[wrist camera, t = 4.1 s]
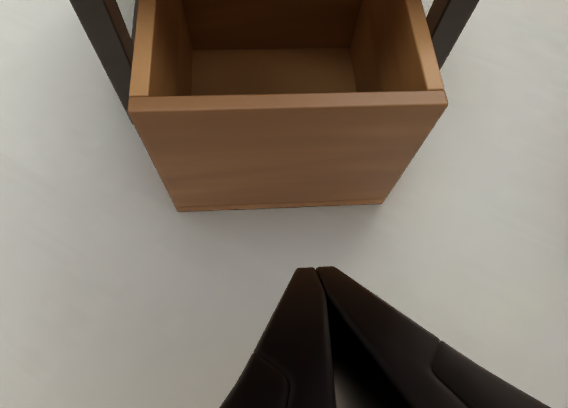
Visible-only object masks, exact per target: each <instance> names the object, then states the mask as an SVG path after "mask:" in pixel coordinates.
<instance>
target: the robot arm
mask: <svg viewBox="0 0 568 408" xmlns="http://www.w3.org/2000/svg"><path fill="white" fill-rule="evenodd" d="M219 408H550V407H549V406H547V405H545V404H543V403H542V402H540V401H538V400H536V399H535V398H533V397H531V396H529V395H528V394H526V393H524V392H523V391H521V390H519V389H517V388H516V387H514V386H512V385H510V384H509V383H507V382H505V381H504V380H502V379H500V378H499V377H497V376H495V375H494V374H492V373H490V372H489V371H487V370H485V369H484V368H482V367H481V366H479V365H477V364H476V363H474V362H473V361H471V360H470V359H468V358H467V357H465V356H464V355H462V354H461V353H459V352H458V351H456V350H455V349H453V348H452V347H450V346H449V345H447V344H446V343H445V342H443V341H440V340H439V338H437V337H436V336H434V335H433V334H431V333H430V332H428V331H427V330H425V329H424V328H423V327H421V326H420V325H418V324H417V323H415V322H414V321H412V320H411V319H410V318H408V317H407V316H405V315H404V314H402V313H401V312H399V311H398V310H396V309H395V308H394V307H392V306H391V305H389V304H388V303H386V302H385V301H383V300H382V299H380V298H379V297H378V296H376V295H375V294H373V293H372V292H370V291H369V290H367V289H366V288H365V287H363V286H362V285H360V284H359V283H357V282H356V281H354V280H353V279H351V278H350V277H349V276H347V275H346V274H344V273H343V272H341V271H340V270H338V269H337V268H335V267H333V266H329V267H318V268H316V270H315V268H313V267H309V268H297V269H296V270H295V272H294V274H293V276H292V278H291V280H290V282H289V284H288V286H287V288H286V290H285V292H284V294H283V296H282V297H281V299H280V301H279V303H278V305H277V307H276V309H275V311H274V313H273V315H272V317H271V319H270V321H269V323H268V325H267V327H266V328H265V330H264V332H263V334H262V336H261V338H260V340H259V342H258V344H257V346H256V348H255V350H254V353H253V354H252V355H251V357H250V359H249V361H248V363H247V365H246V367H245V368H244V370H243V372H242V374H241V375H240V377H239V379H238V381H237V382H236V384H235V386H234V387H233V389H232V390H231V391H230V393H229V394H228V396H227V397H226V399H225V400H224V402H223V403H222V405H221V406H220V407H219Z"/></svg>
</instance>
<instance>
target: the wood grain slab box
mask: <svg viewBox="0 0 568 408" xmlns="http://www.w3.org/2000/svg"><path fill="white" fill-rule="evenodd" d="M129 97H130V98H129V102H128V114H129V116H130V118H131V120H132V122H133V124H134V126H135V128H136V130H137V132H138V134H139V136H140V138H141V140H142V142H143V144H144V146H145V148H146V150H147V152H148V154H149V156H150V158H151V160H152V162H153V164H154V166H155V168H156V170H157V172H158V173H159V175H160V177H161V179H162V181H163V183H164V185H165V187H166V189H167V191H168V193H169V195H170V197H171V199H172V201H173V203H174V205H175V207H176V209H177V211H178V212H180V211H205V210H231V209H256V208H282V207H307V206H332V205H358V204H382V203H383V202H384V200H385V198H386V197H387V196H388V194H389V193H390V191H391V190H392V188H393V187H394V185H395V184H396V182H397V181H398V179H399V178H400V176H401V175H402V173H403V172H404V170H405V169H406V167H407V166H408V164H409V163H410V161H411V160H412V158H413V157H414V155H415V154H416V152H417V151H418V149H419V148H420V146H421V145H422V143H423V142H424V140H425V139H426V137H427V136H428V134H429V133H430V131H431V130H432V128H433V127H434V125H435V124H436V122H437V121H438V119H439V118H440V116H441V115H442V113H443V112H444V110H445V109H446V107H447V106H448V101H447V97H446V93H445V91H444V86H443V82H442V78H441V74H440V70H439V66H438V63H437V59H436V55H435V51H434V47H433V44H432V40H431V36H430V32H429V28H428V25H427V21H426V17H425V13H424V9H423V5H422V2H421V0H139V3H138V13H137V22H136V32H135V42H134V51H133V61H132V71H131V80H130V90H129Z"/></svg>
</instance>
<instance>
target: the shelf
mask: <svg viewBox="0 0 568 408" xmlns="http://www.w3.org/2000/svg"><path fill="white" fill-rule="evenodd" d="M70 2H71V4H72V6H73V8H74V10H75V12H76V14H77V16H78V18H79V20H80V22H81V24H82V26H83V28H84V30H85V32H86V34H87V36H88V38H89V39H90V41H91V43H92V45H93V47H94V49H95V51H96V53H97V55H98V57H99V59H100V61H101V63H102V65H103V67H104V69H105V71H106V73H107V75H108V77H109V79H110V81H111V83H112V85H113V87H114V89H115V91H116V93H117V95H118V97H119V99H120V101H121V102H122V104H123V106H124V108H125V110H126V112H127V114H128V102H129V98H130V97H129V90H130V80H131V71H132V61H133V51H134V42H135V32H136V22H137V13H138V3H139V0H136V1H135V10H134V19H133V29H132V38H130V35H129V33H128V30H127V28H126V25H125V23H124V20H123V17H122V15H121V12H120V10H119V7H118V4H117V2H116V0H70ZM478 2H479V0H434V1H433V4H432V6H431V8H430V10H429V13H428V15H427V17H426V21H427V25H428V28H429V32H430V36H431V40H432V44H433V47H434V51H435V55H436V59H437V63H438V66H439V70H440V69H441V67H442V65H443V64H444V62H445V60H446V58H447V57H448V55H449V53H450V51H451V50H452V48H453V46H454V44H455V42H456V41H457V39H458V37H459V35H460V34H461V32H462V30H463V28H464V27H465V25H466V23H467V21H468V20H469V18H470V16H471V14H472V12H473V11H474V9H475V7H476V5H477V4H478ZM128 116H129V114H128ZM129 118H130V116H129ZM130 120H131V118H130ZM131 122H132V120H131ZM132 124H133V122H132Z"/></svg>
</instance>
